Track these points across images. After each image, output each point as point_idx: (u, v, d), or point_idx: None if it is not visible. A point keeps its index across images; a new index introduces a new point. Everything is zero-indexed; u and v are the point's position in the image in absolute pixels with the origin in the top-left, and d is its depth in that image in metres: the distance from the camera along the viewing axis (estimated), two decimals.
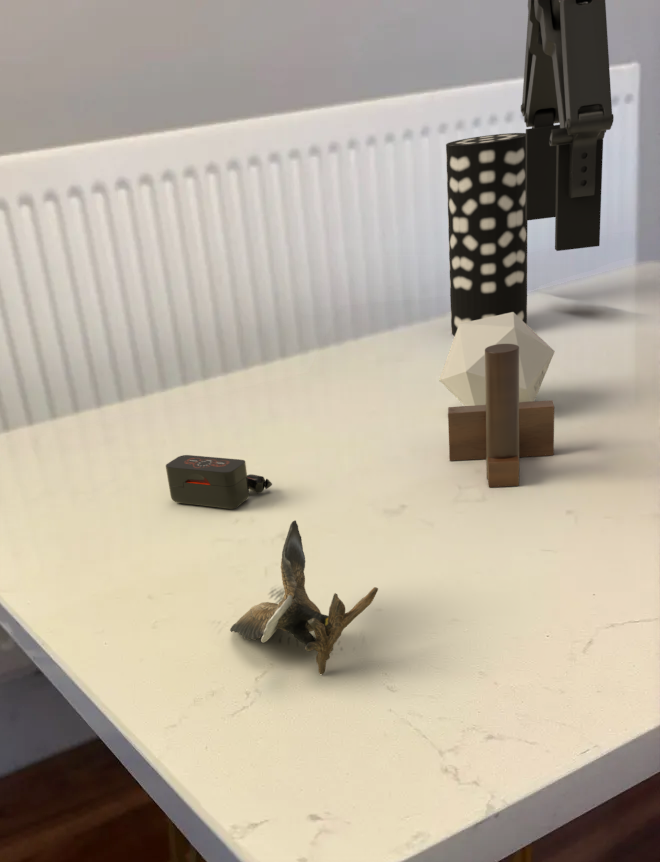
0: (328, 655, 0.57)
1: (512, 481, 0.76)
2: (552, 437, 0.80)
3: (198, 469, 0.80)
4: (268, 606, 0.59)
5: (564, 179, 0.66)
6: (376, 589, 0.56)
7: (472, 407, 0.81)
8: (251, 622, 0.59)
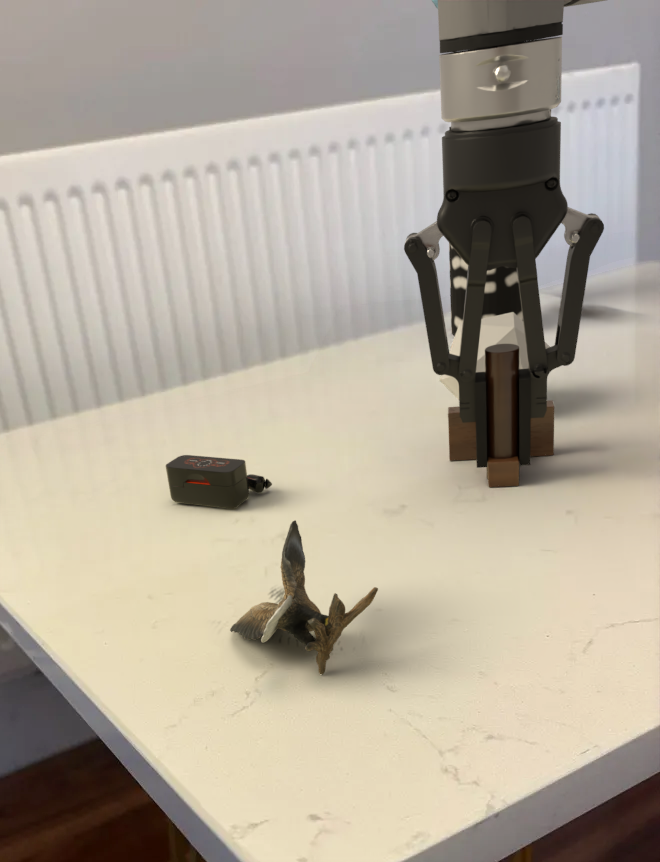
0: (328, 655, 0.57)
1: (512, 481, 0.76)
2: (552, 437, 0.80)
3: (198, 469, 0.80)
4: (268, 606, 0.59)
5: None
6: (376, 589, 0.56)
7: None
8: (251, 622, 0.59)
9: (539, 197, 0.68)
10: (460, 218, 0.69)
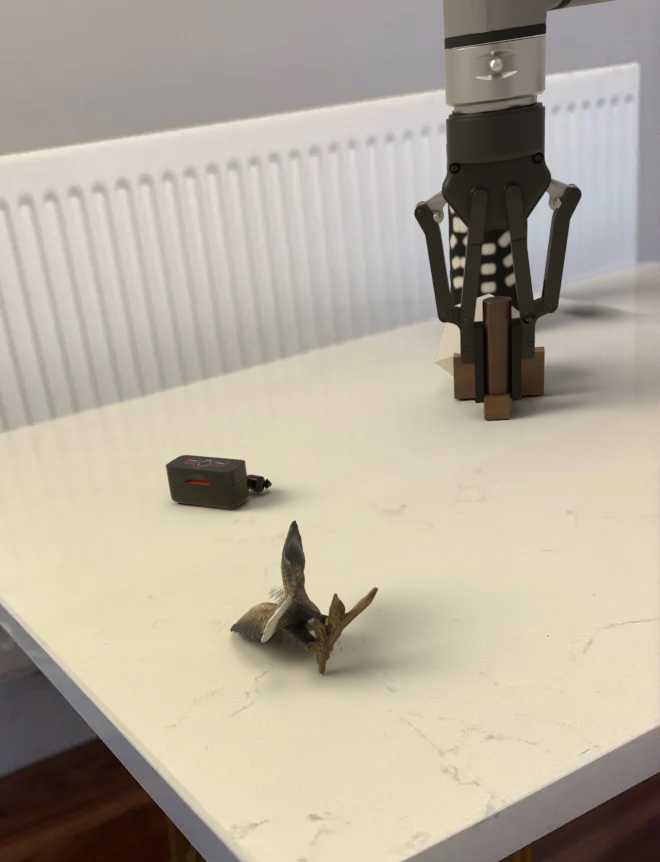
0: (328, 655, 0.57)
1: (504, 415, 0.89)
2: (543, 378, 0.93)
3: (198, 469, 0.80)
4: (268, 606, 0.59)
5: (520, 348, 0.88)
6: (376, 589, 0.56)
7: None
8: (251, 622, 0.59)
9: (527, 169, 0.81)
10: (461, 187, 0.82)
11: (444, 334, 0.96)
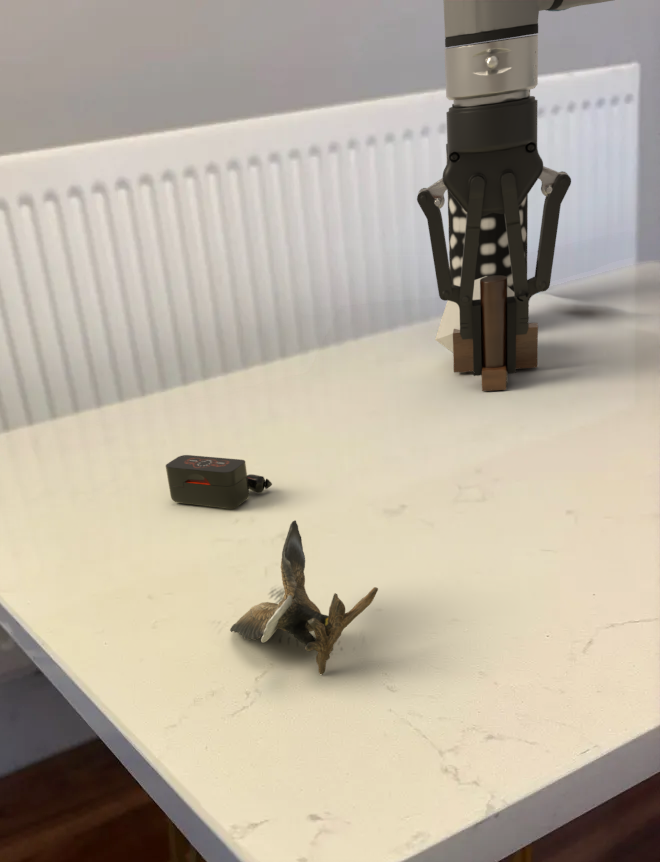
0: (328, 655, 0.57)
1: (501, 386, 0.96)
2: (536, 352, 1.00)
3: (198, 469, 0.80)
4: (268, 606, 0.59)
5: (515, 324, 0.95)
6: (376, 589, 0.56)
7: None
8: (251, 622, 0.59)
9: (521, 158, 0.88)
10: (460, 175, 0.90)
11: (444, 313, 1.03)
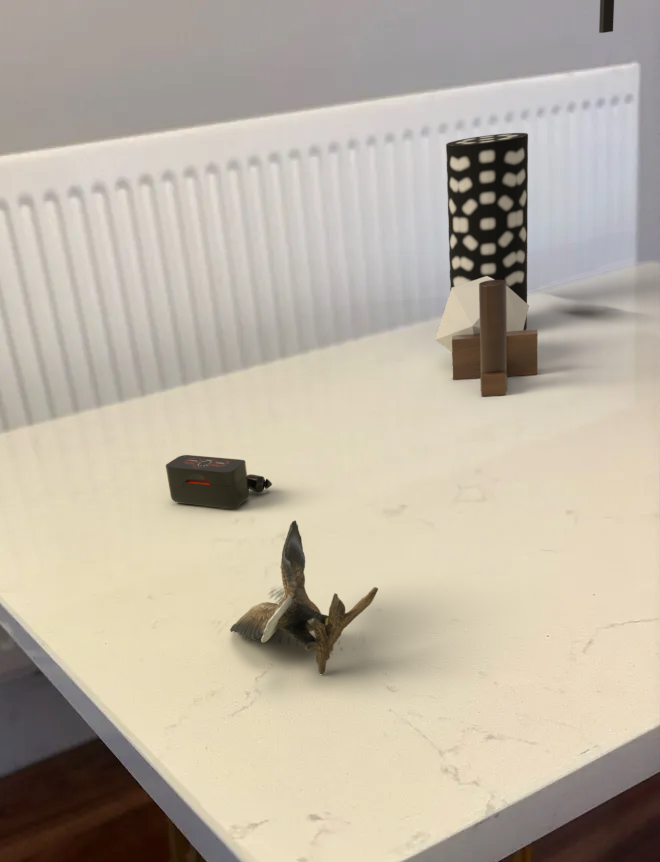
0: (328, 655, 0.57)
1: (500, 391, 0.95)
2: (536, 359, 0.99)
3: (198, 469, 0.80)
4: (268, 606, 0.59)
5: None
6: (376, 589, 0.56)
7: (471, 335, 1.01)
8: (251, 622, 0.59)
9: None
10: None
11: (444, 313, 1.03)
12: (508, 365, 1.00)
